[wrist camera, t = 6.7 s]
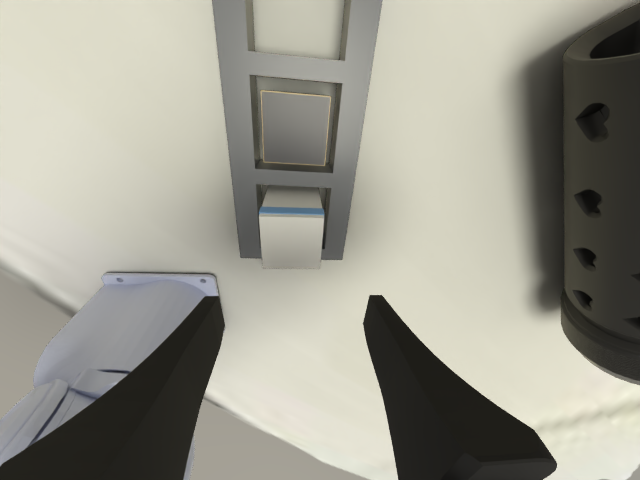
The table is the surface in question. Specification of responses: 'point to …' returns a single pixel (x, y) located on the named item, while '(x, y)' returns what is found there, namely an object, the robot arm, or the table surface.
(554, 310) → the table surface
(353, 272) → the table surface
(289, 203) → the grey plug
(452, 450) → the robot arm
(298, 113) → the socket board
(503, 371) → the table surface
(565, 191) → the muzzle brake
